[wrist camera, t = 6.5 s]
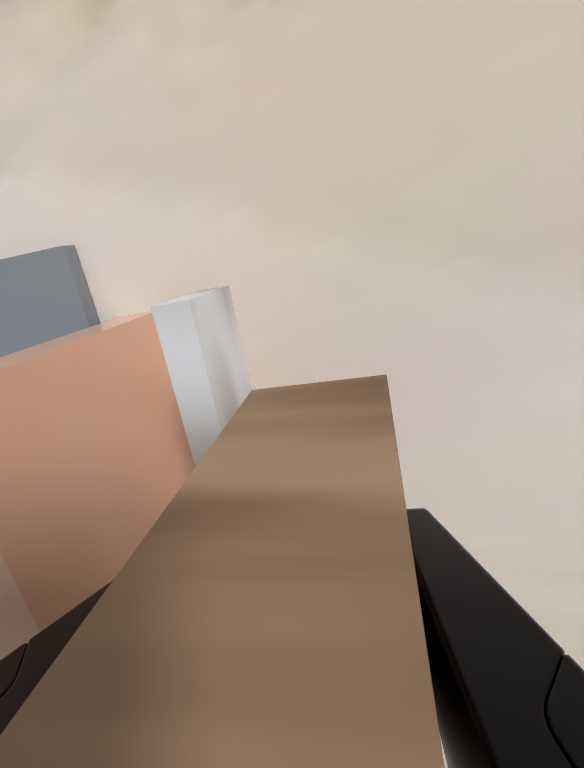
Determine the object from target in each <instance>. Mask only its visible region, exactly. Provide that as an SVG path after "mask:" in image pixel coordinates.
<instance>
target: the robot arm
mask: <svg viewBox="0 0 584 768" xmlns="http://www.w3.org/2000/svg"><path fill="white" fill-rule="evenodd" d="M406 511H407V518H408V524H409V531H410V538H411V545H412V551H413V558H414V565H415V572H416V578H417V585H418V592H419V599H420V605H421V612H422V619H423V626H424V633H425V639H426V646H427V653H428V660H429V666H430V673H431V680H432V687H433V693H434V700H435V707H436V714H437V720H438V727H439V732H440V736H441V740H442V744H443V749H444V753H445V757H446V761H447V765H448V768H584V670H583V669H582V668H581V667H580V666H579V665H578V664H577V663H576V662H575V661H574V660H573V659H572V658H571V657H570V656H569V655H565V653H564V650H563V649H562V648H561V647H560V646H559V645H558V644H557V643H556V642H555V641H554V640H553V639H552V638H551V636H550V635H549V634H548V633H547V632H546V631H545V630H544V629H543V628H542V627H541V626H540V625H539V624H538V623H537V622H536V621H535V620H534V619H533V618H532V617H531V616H530V615H529V614H528V613H527V612H526V611H525V610H524V609H523V608H522V607H521V606H520V605H519V604H518V603H517V602H516V601H515V600H514V599H513V598H512V596H511V595H510V594H509V593H508V592H507V591H506V590H505V589H504V588H503V587H502V586H501V585H500V584H499V583H498V582H497V581H496V580H495V579H494V578H493V577H492V576H491V575H490V574H489V573H488V572H487V571H486V570H485V569H484V568H483V567H482V566H481V565H480V564H479V563H478V562H477V561H476V560H475V559H474V558H473V557H472V555H471V554H470V553H469V552H468V551H467V550H466V549H465V548H464V547H463V546H462V545H461V544H460V543H459V542H458V541H457V540H456V539H455V538H454V537H453V536H452V535H451V534H450V533H449V532H448V531H447V530H446V529H445V528H444V527H443V526H442V525H441V524H440V523H439V522H438V521H437V520H436V519H435V518H434V517H433V515H432V514H431V513H430V512H429V511H428V510H426V509H424V508H418V509H406ZM112 581H113V580H112ZM112 581H111V582H109V583H108V584H107V585H105V586H104V587H102V588H101V589H100V590H98V591H97V592H95V593H94V594H93V595H91V596H90V597H88V598H87V599H86V600H84V601H83V602H81V603H80V604H79V605H77V606H76V607H74V608H73V609H72V610H70V611H69V612H67V613H66V614H65V615H63V616H62V617H60V618H59V619H58V620H56V621H55V622H53V623H52V624H50V625H49V626H48V627H46V628H45V629H43V630H42V631H41V632H39V633H38V634H36V635H35V636H34V637H32V638H31V639H30V640H29V642H28V643H24V644H22V645H21V646H19V647H18V648H17V649H15V650H14V651H12V652H11V653H10V654H8V655H7V656H5V657H4V658H3V659H1V660H0V735H1V734H2V732H3V731H4V729H5V728H6V727H7V725H8V724H9V723H10V721H11V720H12V718H13V717H14V716H15V714H16V713H17V712H18V710H19V709H20V707H21V706H22V705H23V703H24V702H25V701H26V699H27V698H28V696H29V695H30V694H31V692H32V691H33V690H34V688H35V687H36V685H37V684H38V683H39V681H40V680H41V679H42V677H43V676H44V675H45V673H46V672H47V670H48V669H49V668H50V666H51V665H52V664H53V662H54V661H55V659H56V658H57V657H58V655H59V654H60V653H61V651H62V650H63V648H64V647H65V646H66V644H67V643H68V642H69V640H70V639H71V637H72V636H73V635H74V633H75V632H76V631H77V629H78V628H79V626H80V625H81V624H82V622H83V621H84V620H85V618H86V617H87V615H88V614H89V613H90V611H91V610H92V609H93V607H94V606H95V605H96V603H97V602H98V600H99V599H100V598H101V596H102V595H103V594H104V592H105V591H106V589H107V588H108V587H109V585H110V584H111V583H112Z"/></svg>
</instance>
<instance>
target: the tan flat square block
mask: <svg viewBox="0 0 584 768" xmlns="http://www.w3.org/2000/svg"><path fill="white" fill-rule="evenodd" d="M194 469H195V464H194V460H193V457H192V453H191V450H190V446H189V442H188V439H187V435H186V432H185V428H184V425H183V421H182V417H181V414H180V410H179V407H178V403H177V400H176V396H175V392H174V389H173V385H172V382H171V378H170V375H169V371H168V367H167V364H166V360H165V357H164V353H163V350H162V346H161V342H160V339H159V335H158V332H157V328H156V325H155V321H154V317H153V314H152V311H151V312H145V313H140V314H134V315H128V316H123V317H118V318H115V319H112V320H109V321H106V322H103V323H100V324H97V325H94V326H92V327H89V328H86V329H83V330H80V331H77V332H74V333H71V334H68V335H65V336H62V337H59V338H56V339H53V340H50V341H47V342H44V343H41V344H39V345H36V346H33V347H30V348H27V349H24V350H21V351H18V352H15V353H12V354H9V355H6V356H3V357H0V660H1V659H3V658H4V657H5V656H7V655H8V654H10V653H11V652H12V651H14V650H15V649H17V648H18V647H19V646H21V645H22V644H24V643H28V642H29V640H30V639H31V638H32V637H34V636H35V635H36V634H38V633H39V632H41V631H42V630H43V629H45V628H46V627H48V626H49V625H50V624H52V623H53V622H55V621H56V620H58V619H59V618H60V617H62V616H63V615H65V614H66V613H67V612H69V611H70V610H72V609H73V608H74V607H76V606H77V605H79V604H80V603H81V602H83V601H84V600H86V599H87V598H88V597H90V596H91V595H93V594H94V593H95V592H97V591H98V590H100V589H101V588H102V587H104V586H105V585H107V584H108V583H109V582H111V581H112V580H114V578H115V577H116V576H117V574H118V573H119V572H120V570H121V569H122V567H123V566H124V565H125V563H126V562H127V561H128V559H129V558H130V556H131V555H132V554H133V552H134V551H135V550H136V548H137V547H138V546H139V544H140V543H141V541H142V540H143V539H144V537H145V536H146V535H147V533H148V532H149V530H150V529H151V528H152V526H153V525H154V524H155V522H156V521H157V519H158V518H159V517H160V515H161V514H162V513H163V511H164V510H165V508H166V507H167V506H168V504H169V503H170V502H171V500H172V499H173V497H174V496H175V495H176V493H177V492H178V491H179V489H180V488H181V487H182V485H183V484H184V482H185V481H186V480H187V478H188V477H189V476H190V474H191V473H192V471H193V470H194Z"/></svg>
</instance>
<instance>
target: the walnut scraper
mask: <svg viewBox="0 0 584 768" xmlns="http://www.w3.org/2000/svg"><path fill="white" fill-rule="evenodd" d="M151 310H152V314H153V317H154V321H155V325H156V328H157V332H158V335H159V339H160V342H161V346H162V350H163V353H164V357H165V360H166V364H167V367H168V371H169V375H170V378H171V382H172V385H173V389H174V392H175V396H176V400H177V403H178V407H179V410H180V414H181V417H182V421H183V425H184V428H185V432H186V435H187V439H188V442H189V446H190V450H191V453H192V457H193V460H194V464H195V469H194V470H193V471H192V473H191V474H190V476H189V477H188V478H187V480H186V481H185V482H184V484H183V485H182V487H181V488H180V489H179V491H178V492H177V493H176V495H175V496H174V497H173V499H172V500H171V502H170V503H169V504H168V506H167V507H166V508H165V510H164V511H163V513H162V514H161V515H160V517H159V518H158V519H157V521H156V522H155V524H154V525H153V526H152V528H151V529H150V530H149V532H148V533H147V535H146V536H145V537H144V539H143V540H142V541H141V543H140V544H139V546H138V547H137V548H136V550H135V551H134V552H133V554H132V555H131V556H130V558H129V559H128V561H127V562H126V563H125V565H124V566H123V567H122V569H121V570H120V572H119V573H118V574H117V576H116V577H115V578H114V580H113V581H112V583H111V584H110V585H109V587H108V588H107V589H106V591H105V592H104V594H103V595H102V596H101V598H100V599H99V600H98V602H97V603H96V605H95V606H94V607H93V609H92V610H91V611H90V613H89V614H88V615H87V617H86V618H85V620H84V621H83V622H82V624H81V625H80V626H79V628H78V629H77V631H76V632H75V633H74V635H73V636H72V637H71V639H70V640H69V642H68V643H67V644H66V646H65V647H64V648H63V650H62V651H61V653H60V654H59V655H58V657H57V658H56V659H55V661H54V662H53V664H52V665H51V666H50V668H49V669H48V670H47V672H46V673H45V675H44V676H43V677H42V679H41V680H40V681H39V683H38V684H37V685H36V687H35V688H34V690H33V691H32V692H31V694H30V695H29V696H28V698H27V699H26V701H25V702H24V703H23V705H22V706H21V707H20V709H19V710H18V712H17V713H16V714H15V716H14V717H13V718H12V720H11V721H10V723H9V724H8V725H7V727H6V728H5V729H4V731H3V732H2V734H1V735H0V768H444V761H443V754H442V748H441V741H440V734H439V727H438V720H437V714H436V707H435V700H434V693H433V687H432V680H431V673H430V666H429V660H428V653H427V646H426V639H425V633H424V626H423V619H422V612H421V605H420V599H419V592H418V585H417V578H416V572H415V565H414V558H413V551H412V545H411V538H410V531H409V524H408V518H407V511H406V504H405V497H404V490H403V484H402V477H401V470H400V463H399V457H398V450H397V443H396V436H395V430H394V423H393V416H392V409H391V403H390V396H389V389H388V382H387V375H380V376H371V377H362V378H353V379H345V380H336V381H327V382H319V383H310V384H301V385H292V386H284V387H275V388H266V389H258V390H252V389H251V385H250V380H249V376H248V371H247V366H246V362H245V357H244V353H243V348H242V344H241V339H240V334H239V330H238V325H237V321H236V316H235V312H234V307H233V302H232V298H231V293H230V289H229V285H228V286H223V287H217V288H211V289H205V290H199V291H196V292H193V293H190V294H187V295H184V296H181V297H178V298H175V299H173V300H170V301H167V302H164V303H161V304H158V305H155V306H152V307H151Z"/></svg>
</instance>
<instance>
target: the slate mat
mask: <svg viewBox="0 0 584 768" xmlns="http://www.w3.org/2000/svg"><path fill="white" fill-rule="evenodd" d="M97 324H100V322H99V318H98V315H97V312H96V309H95V306H94V303H93V300H92V297H91V294H90V291H89V288H88V285H87V282H86V279H85V276H84V273H83V270H82V267H81V264H80V261H79V258H78V255H77V252H76V249H75V246H74V245H72V246H60V247H55V248H51V249H46V250H42V251H37V252H33V253H28V254H24V255H19V256H15V257H10V258H6V259H1V260H0V357H3V356H6V355H9V354H12V353H15V352H18V351H21V350H24V349H27V348H30V347H33V346H36V345H39V344H41V343H44V342H47V341H50V340H53V339H56V338H59V337H62V336H65V335H68V334H71V333H74V332H77V331H80V330H83V329H86V328H89V327H92V326H94V325H97Z"/></svg>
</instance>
